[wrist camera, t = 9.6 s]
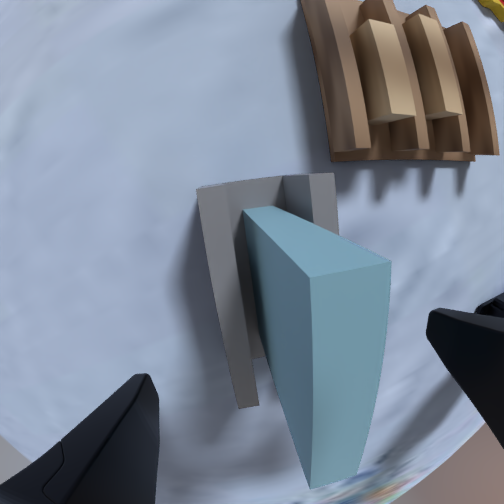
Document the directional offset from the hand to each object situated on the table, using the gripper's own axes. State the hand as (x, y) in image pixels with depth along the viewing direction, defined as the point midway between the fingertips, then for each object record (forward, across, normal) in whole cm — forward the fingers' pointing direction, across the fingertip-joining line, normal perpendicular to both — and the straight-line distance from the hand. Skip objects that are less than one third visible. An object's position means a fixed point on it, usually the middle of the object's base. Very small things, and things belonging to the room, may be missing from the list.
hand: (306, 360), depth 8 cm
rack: (+8, -11, -11) cm, 17 cm away
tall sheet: (+8, 0, 0) cm, 8 cm away
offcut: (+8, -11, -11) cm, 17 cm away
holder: (+8, 0, 0) cm, 8 cm away
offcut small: (+8, -7, -10) cm, 14 cm away
